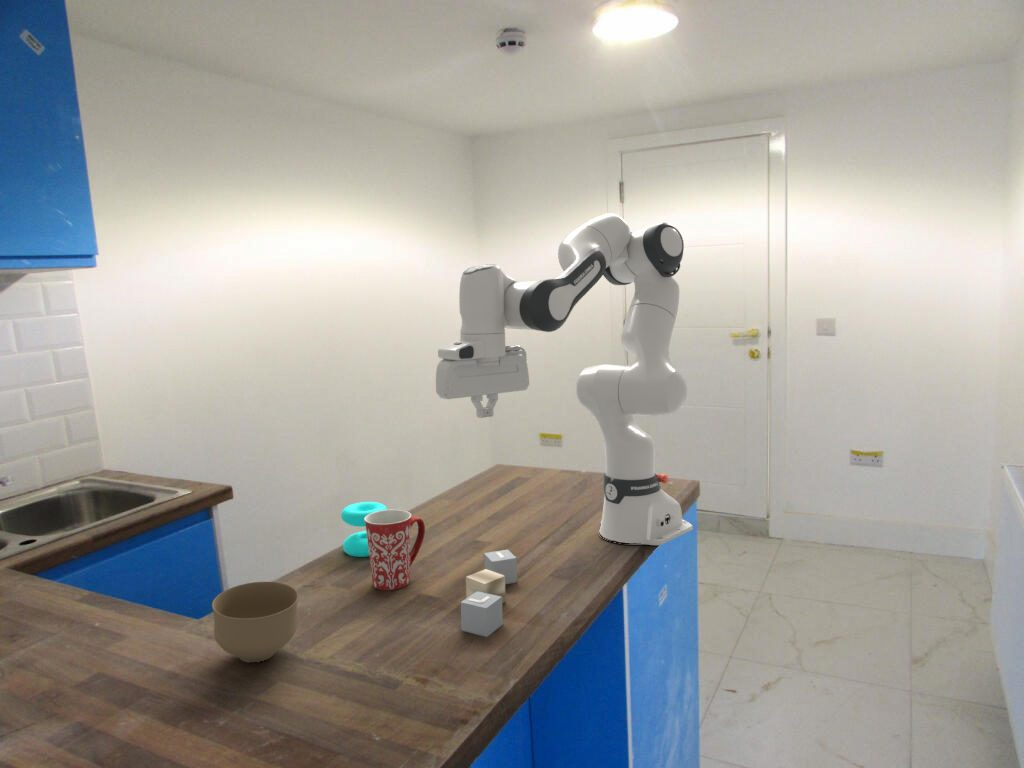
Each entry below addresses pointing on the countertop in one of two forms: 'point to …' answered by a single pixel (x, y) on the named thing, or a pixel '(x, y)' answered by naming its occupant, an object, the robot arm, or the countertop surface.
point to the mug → (392, 547)
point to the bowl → (255, 619)
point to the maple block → (486, 583)
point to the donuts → (355, 517)
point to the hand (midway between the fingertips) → (485, 416)
